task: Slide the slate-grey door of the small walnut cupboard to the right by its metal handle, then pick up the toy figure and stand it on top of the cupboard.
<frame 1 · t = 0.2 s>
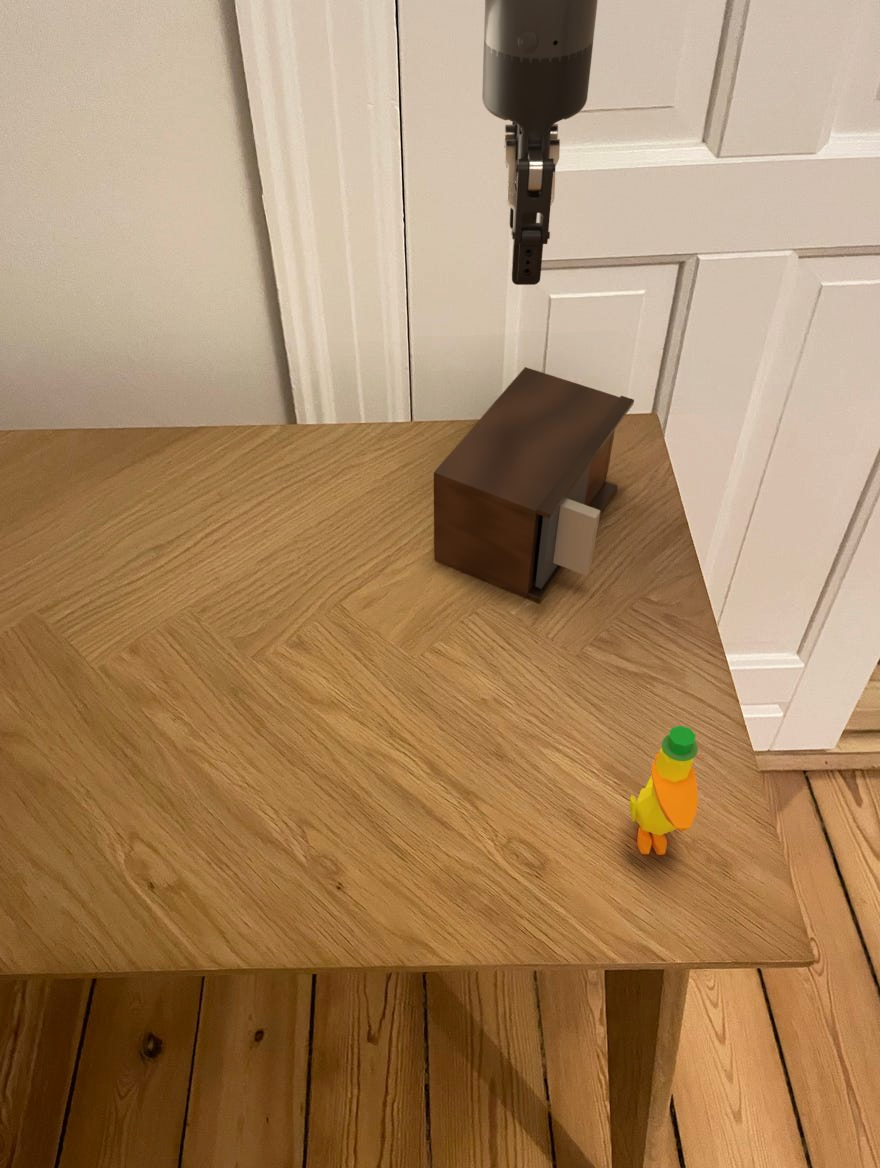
hand: (523, 254, 79), 19 cm above the table, tool pointing down, fingers open, 8 cm apart
toy figure: (650, 845, 67), on the table
door: (579, 529, 79), point 5 cm above the table, slide at 0.0 cm
cupboard: (522, 522, 87), on the table
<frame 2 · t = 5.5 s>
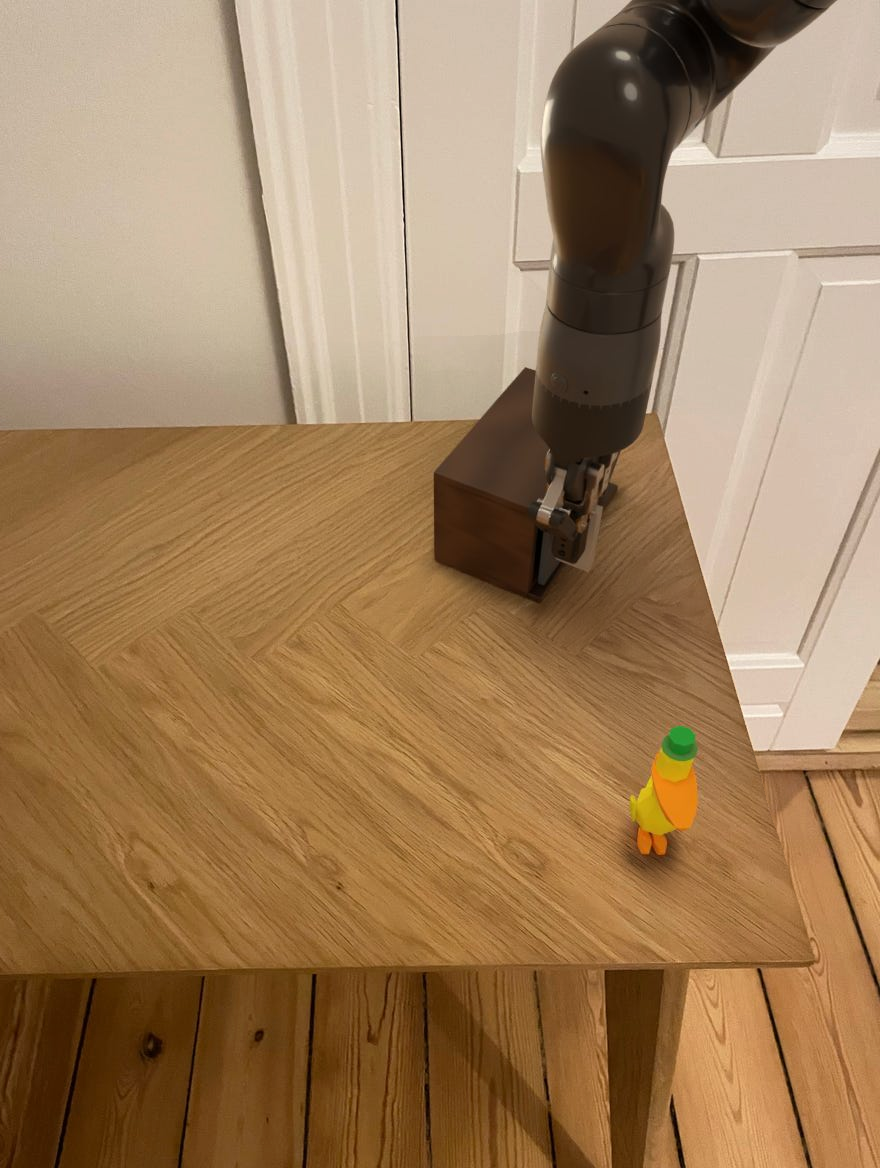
hand: (567, 554, 76), 6 cm above the table, tool pointing down, fingers closed
door: (582, 526, 79), point 5 cm above the table, slide at 0.5 cm, touching gripper
everything else where it was.
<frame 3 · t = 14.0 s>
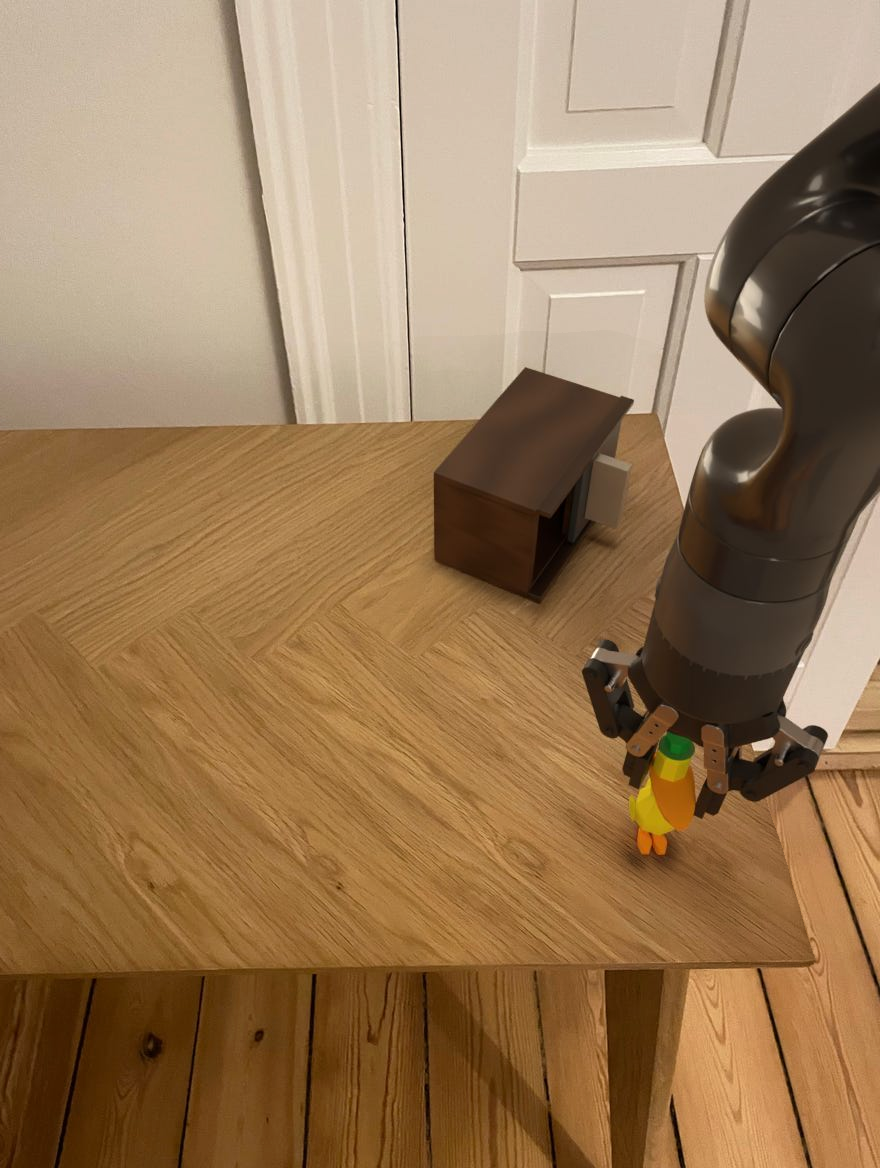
hand: (670, 790, 61), 7 cm above the table, tool pointing down, fingers closed on toy figure, 3 cm apart
toy figure: (650, 845, 67), on the table, touching gripper
door: (610, 485, 82), point 5 cm above the table, slide at 6.2 cm
when the fingers open (17 cm above the table, at t = 21.5 s): toy figure stays where it is, resting on cupboard.
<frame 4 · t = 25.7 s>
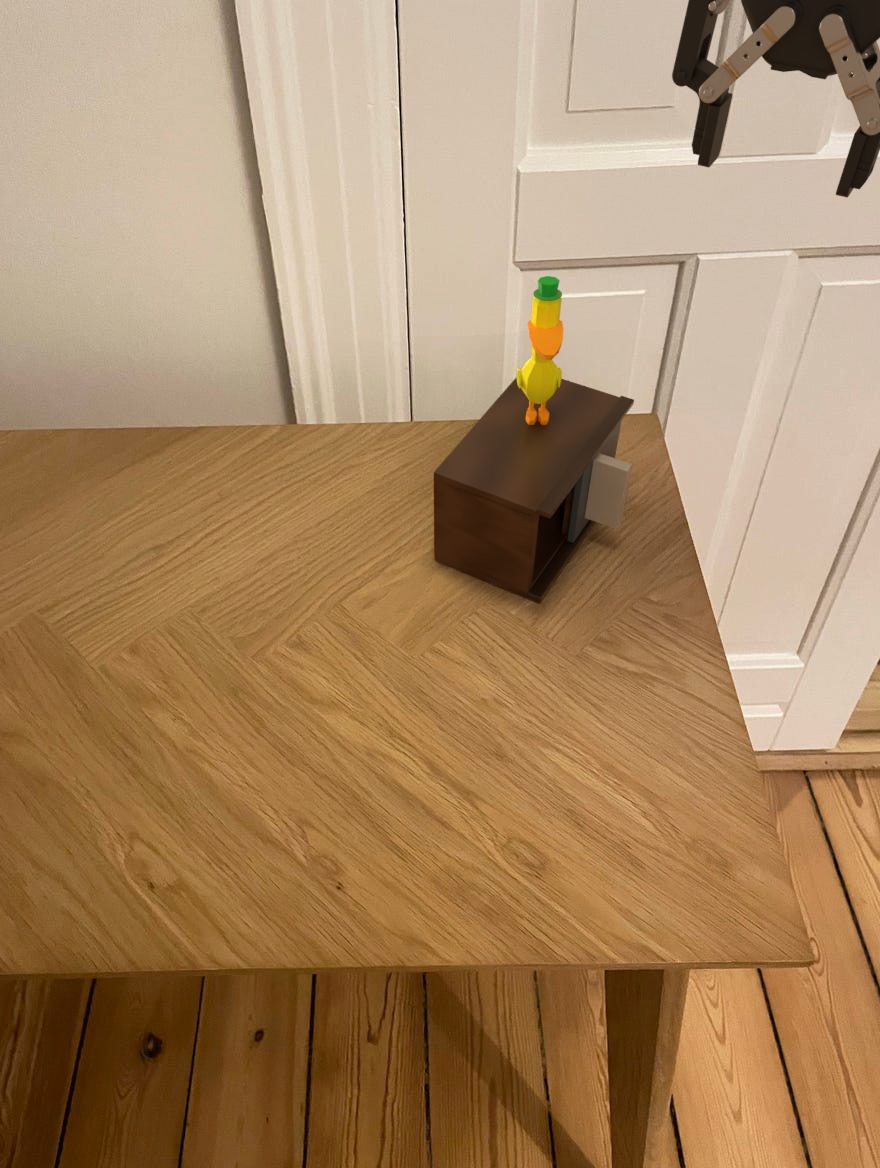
hand: (774, 176, 60), 32 cm above the table, tool pointing down, fingers open, 8 cm apart
toy figure: (536, 420, 81), point 10 cm above the table, touching cupboard
everything else where it was.
at the end: door slide at 6.2 cm; toy figure inside the target area on the cupboard (1.9 cm from its centre), point 9.8 cm above the cupboard's base; toy figure tilted 0° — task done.
